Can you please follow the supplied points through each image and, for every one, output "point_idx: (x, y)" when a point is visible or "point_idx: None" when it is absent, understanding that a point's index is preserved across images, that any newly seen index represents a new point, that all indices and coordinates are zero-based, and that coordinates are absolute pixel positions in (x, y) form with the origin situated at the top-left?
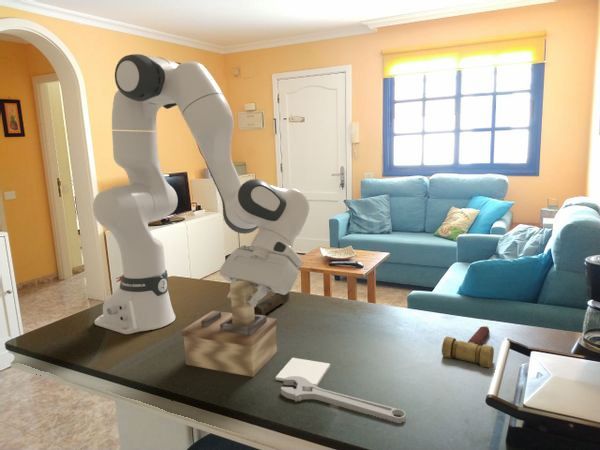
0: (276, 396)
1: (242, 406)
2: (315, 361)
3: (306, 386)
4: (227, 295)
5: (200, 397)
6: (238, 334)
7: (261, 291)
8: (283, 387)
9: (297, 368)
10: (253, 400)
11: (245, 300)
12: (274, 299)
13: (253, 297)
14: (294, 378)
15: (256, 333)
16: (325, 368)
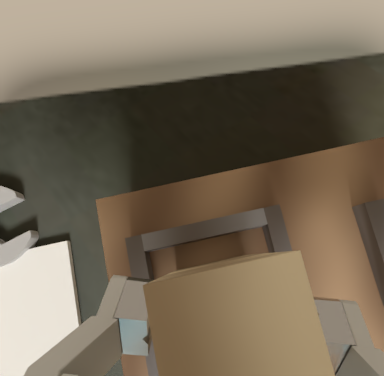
0: (26, 179)
1: (74, 108)
2: None
3: None
4: (357, 304)
5: (184, 85)
6: (182, 220)
7: (35, 368)
8: (10, 197)
9: (35, 315)
10: (66, 138)
11: (160, 277)
12: None
13: (102, 309)
14: (5, 249)
15: (122, 266)
16: None
